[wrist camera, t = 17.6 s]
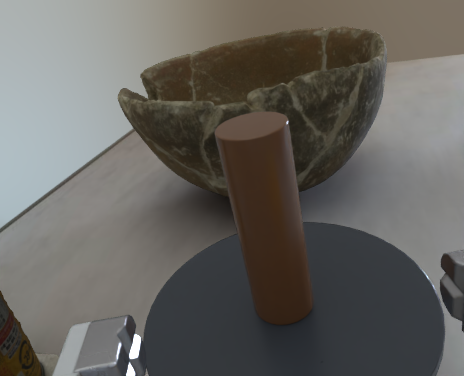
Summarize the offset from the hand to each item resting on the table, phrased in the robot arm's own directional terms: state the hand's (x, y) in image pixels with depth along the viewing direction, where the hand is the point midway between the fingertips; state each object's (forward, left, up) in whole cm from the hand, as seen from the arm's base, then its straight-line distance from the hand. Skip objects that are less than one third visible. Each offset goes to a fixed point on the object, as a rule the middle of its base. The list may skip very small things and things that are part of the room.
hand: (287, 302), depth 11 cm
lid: (+4, +6, -7) cm, 10 cm away
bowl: (+21, +30, -16) cm, 39 cm away
